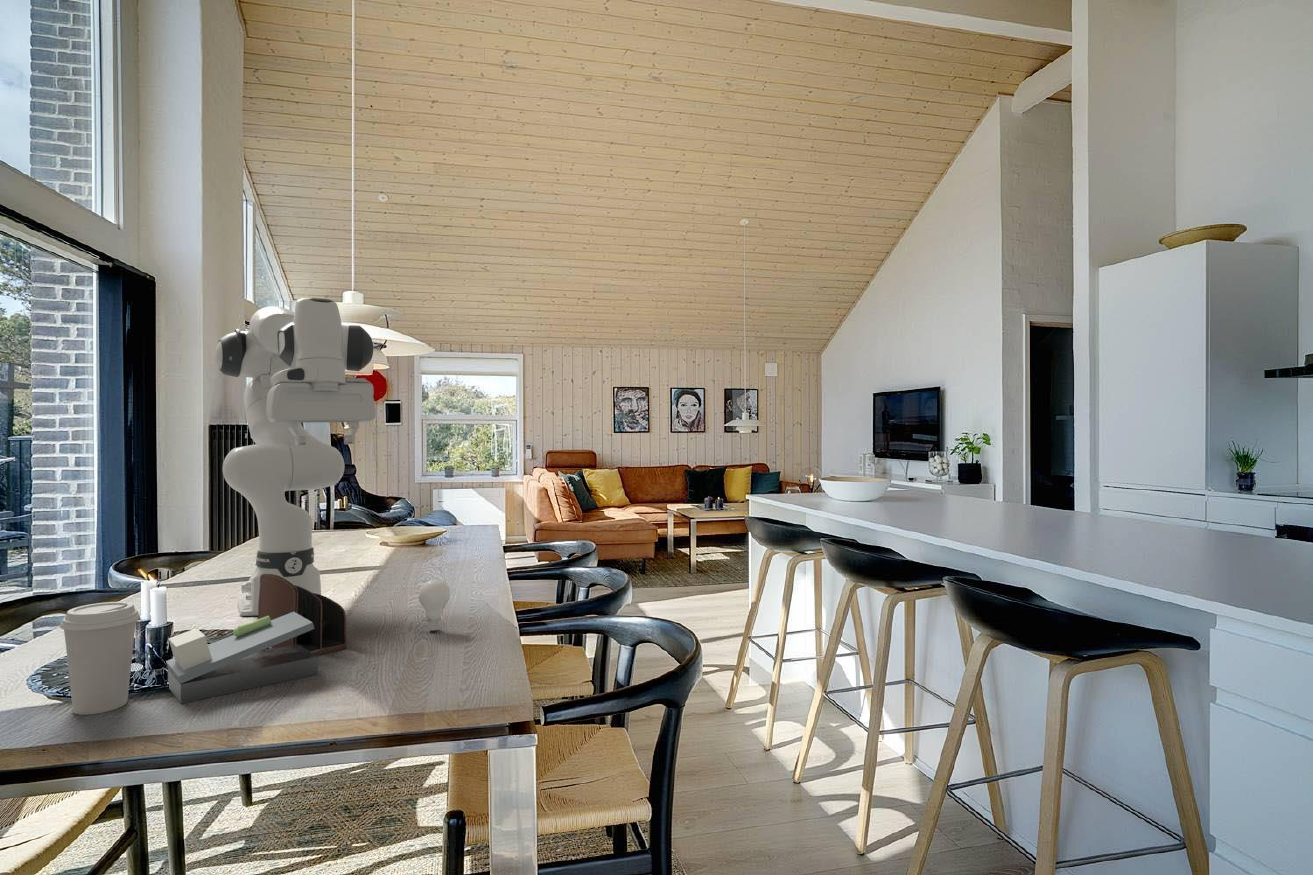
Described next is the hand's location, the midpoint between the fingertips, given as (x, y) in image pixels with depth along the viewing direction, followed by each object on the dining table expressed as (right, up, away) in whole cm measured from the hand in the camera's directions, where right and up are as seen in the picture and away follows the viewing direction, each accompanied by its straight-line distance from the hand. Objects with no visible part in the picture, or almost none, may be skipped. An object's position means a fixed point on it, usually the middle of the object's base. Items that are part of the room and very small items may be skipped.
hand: (325, 444), depth 141 cm
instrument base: (-3, -40, -22) cm, 46 cm away
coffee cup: (-18, -40, -34) cm, 55 cm away
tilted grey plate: (-3, -34, -23) cm, 41 cm away
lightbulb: (+19, -40, +8) cm, 45 cm away
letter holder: (-4, -40, -1) cm, 40 cm away
